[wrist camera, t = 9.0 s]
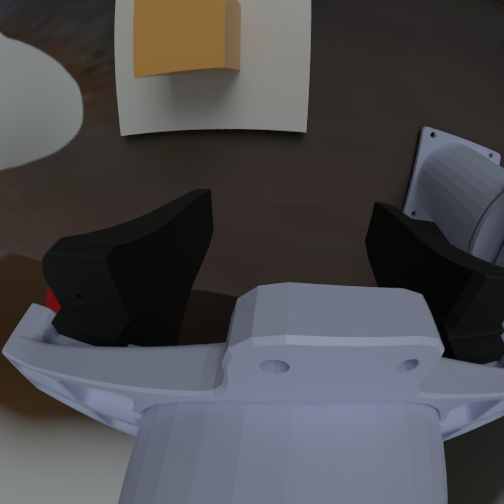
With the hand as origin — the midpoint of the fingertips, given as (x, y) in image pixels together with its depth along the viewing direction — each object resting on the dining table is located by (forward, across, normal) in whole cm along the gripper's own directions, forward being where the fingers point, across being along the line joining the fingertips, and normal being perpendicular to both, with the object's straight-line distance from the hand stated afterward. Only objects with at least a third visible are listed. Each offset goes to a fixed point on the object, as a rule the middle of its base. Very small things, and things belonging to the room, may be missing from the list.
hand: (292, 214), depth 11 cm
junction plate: (+9, +6, -9) cm, 14 cm away
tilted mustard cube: (+8, +6, -9) cm, 14 cm away
